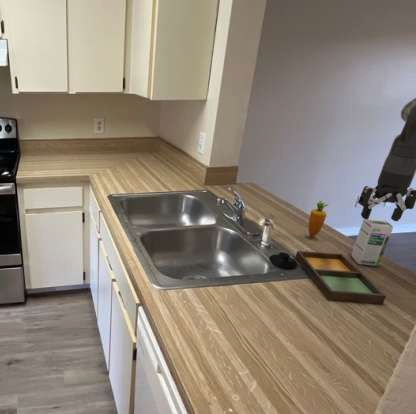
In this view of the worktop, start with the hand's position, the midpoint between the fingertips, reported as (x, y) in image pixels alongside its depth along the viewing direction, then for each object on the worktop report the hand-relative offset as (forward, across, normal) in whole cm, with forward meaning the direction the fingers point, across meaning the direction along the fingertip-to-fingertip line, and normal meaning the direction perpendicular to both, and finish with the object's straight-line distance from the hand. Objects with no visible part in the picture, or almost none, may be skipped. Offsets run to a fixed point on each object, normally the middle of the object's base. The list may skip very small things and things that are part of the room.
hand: (379, 219), depth 104 cm
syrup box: (+16, 0, 0) cm, 16 cm away
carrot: (+16, -10, +15) cm, 24 cm away
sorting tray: (+16, -15, -12) cm, 25 cm away
